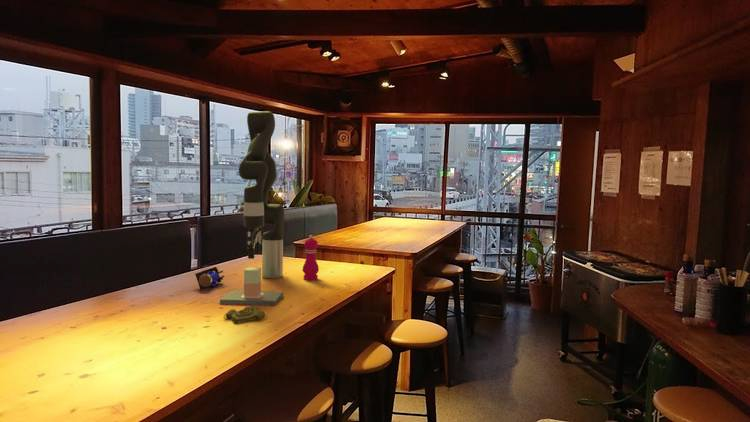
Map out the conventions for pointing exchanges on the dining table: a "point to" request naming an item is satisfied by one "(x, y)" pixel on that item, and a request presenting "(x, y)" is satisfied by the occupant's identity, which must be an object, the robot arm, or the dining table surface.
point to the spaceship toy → (245, 314)
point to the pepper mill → (310, 260)
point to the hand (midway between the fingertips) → (254, 256)
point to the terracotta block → (252, 290)
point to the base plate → (251, 298)
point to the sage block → (252, 275)
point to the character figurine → (209, 277)
